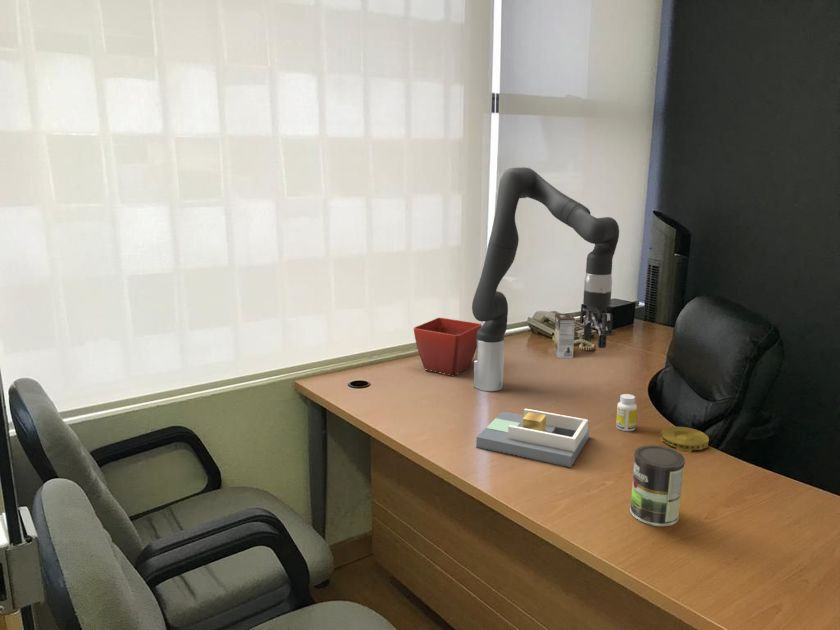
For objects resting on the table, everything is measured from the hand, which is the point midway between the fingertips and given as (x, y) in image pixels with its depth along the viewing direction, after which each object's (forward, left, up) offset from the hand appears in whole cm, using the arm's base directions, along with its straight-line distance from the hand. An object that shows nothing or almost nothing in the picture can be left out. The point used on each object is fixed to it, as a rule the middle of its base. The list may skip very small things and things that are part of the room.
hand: (594, 343), depth 182 cm
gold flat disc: (+27, -2, -25) cm, 36 cm away
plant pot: (-59, +25, -25) cm, 68 cm away
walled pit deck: (-11, -21, -24) cm, 34 cm away
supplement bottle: (+10, 0, -25) cm, 27 cm away
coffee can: (+24, -44, -25) cm, 56 cm away
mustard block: (-11, -21, -21) cm, 32 cm away
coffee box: (-25, +61, -25) cm, 70 cm away
